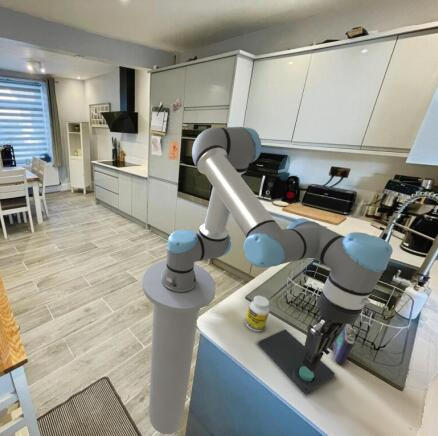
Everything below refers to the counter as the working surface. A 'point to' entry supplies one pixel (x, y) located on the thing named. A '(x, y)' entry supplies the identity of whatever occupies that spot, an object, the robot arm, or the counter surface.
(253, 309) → the pill bottle
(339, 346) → the flask
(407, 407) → the counter surface
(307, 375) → the scale button
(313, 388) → the scale
